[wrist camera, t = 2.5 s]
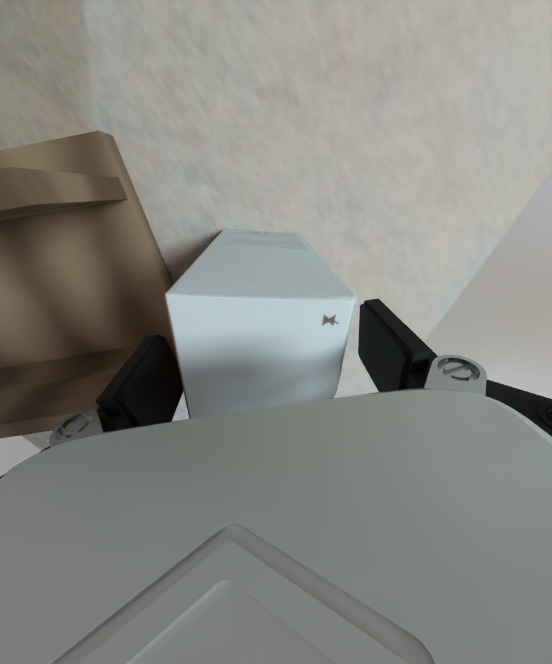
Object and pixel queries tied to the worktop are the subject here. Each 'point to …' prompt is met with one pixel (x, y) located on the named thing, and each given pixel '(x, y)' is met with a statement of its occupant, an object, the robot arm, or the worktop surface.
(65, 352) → the book rack
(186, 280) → the small box
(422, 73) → the worktop surface
